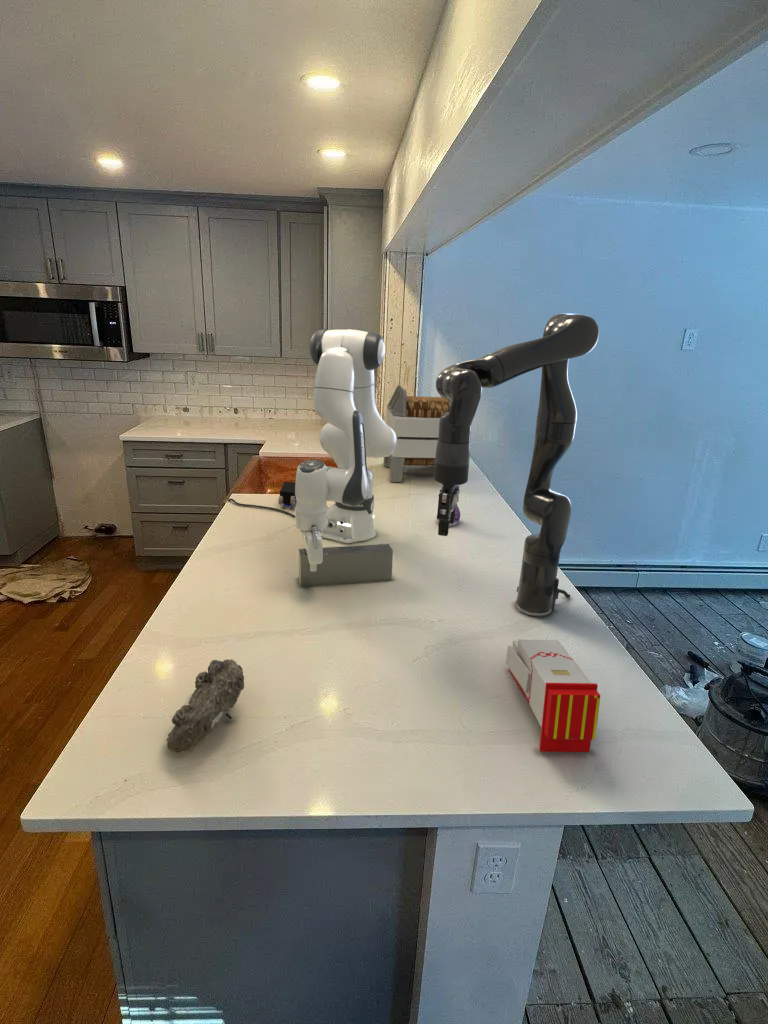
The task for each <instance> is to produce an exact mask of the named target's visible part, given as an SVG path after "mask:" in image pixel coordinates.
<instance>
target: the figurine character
mask: <svg viewBox="0 0 768 1024" xmlns="http://www.w3.org/2000/svg"><path fill="white" fill-rule="evenodd" d="M296 503H297V500H296V496H295V482H294V481H293V482H292V481H284V482H283V484H282V486H281V488H280V490H279V496H278V505H279V506H282V510H283V509H284V510H285V508H286V507H289V509H290V510H291V509H292V508H293V506H294V505H296Z"/></svg>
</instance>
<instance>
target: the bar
mask: <svg viewBox="0 0 768 1024" xmlns="http://www.w3.org/2000/svg"><path fill="white" fill-rule="evenodd" d="M393 556H394V549H393V548H392V547H391V545H390V543H380V544H379V543H378V544H363V545H346V546H344V545H343V546H327V547H326V546H325V547H323V561H322V563H321V564H317V570H316V571H314V572H311V571H310V564H309V561H308V557H307V553H306V550H305V548H298V581H299V586H300V588H306V587H321V586H331V585H332V586H333V585H346V584H359V583H361V584H362V583H371V582H386V581H392V579H393V578H392V577H393V560H394V557H393Z"/></svg>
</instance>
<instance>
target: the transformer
mask: <svg viewBox="0 0 768 1024" xmlns="http://www.w3.org/2000/svg"><path fill="white" fill-rule="evenodd" d="M407 394H408V393H407V390H406V389H404V388H403V387H402V385H399V384H398V385H397V386H396V388H395V390H394V392H393V394H392V395H391V398H390V400H389V402H388V404H387V405H386V413H385V414H386V415H385V423H386V424H387V425H388V426H389V427H391V428H392V429H393V430H394V432H395V434H396V437H397V446H396V449H395V451H394V452H393V453H392V454H391V455H390V456H389V457H383V466H384V467H388V468H389V475H388V476H389V477H388V478H389V480H390V482H391V483H402V482H403V475H404V469H405V466H406V467H407V466H411V467H412V466H413V467H415V466H416V467H417V466H418V467H435V456H436V447H437V442H438V433H439V421H440V417H441V416H442V415H443V414H444V413H447V412H449V411H450V407H451V403H452V401H451V400H448V399H445V398H443V397H442V396H441V395H440V396H415V395H414V396H413V395H412V396H411V395H407Z"/></svg>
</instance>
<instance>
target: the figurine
mask: <svg viewBox="0 0 768 1024" xmlns="http://www.w3.org/2000/svg"><path fill="white" fill-rule="evenodd" d="M454 508H456V509H455V520H454V523H449V528H450V527H455V526H457V525H458V524H459V523H460V518H461V511H460V508H459V506H458V505H457V506H456V507H454ZM445 512H446V511H445V510H443V511H442V514H443V515H445ZM437 523H439V519H437Z"/></svg>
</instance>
